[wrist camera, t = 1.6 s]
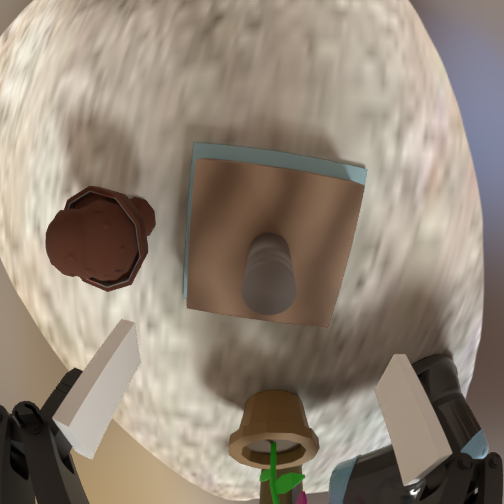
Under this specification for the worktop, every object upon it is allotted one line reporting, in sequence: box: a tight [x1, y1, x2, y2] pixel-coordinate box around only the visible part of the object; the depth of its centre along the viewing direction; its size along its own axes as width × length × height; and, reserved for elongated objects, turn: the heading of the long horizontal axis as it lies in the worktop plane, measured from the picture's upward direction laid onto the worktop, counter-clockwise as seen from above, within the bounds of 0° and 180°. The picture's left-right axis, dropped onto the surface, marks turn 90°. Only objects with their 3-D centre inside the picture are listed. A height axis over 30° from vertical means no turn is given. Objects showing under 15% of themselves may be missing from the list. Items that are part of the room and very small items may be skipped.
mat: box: [184, 142, 367, 299], centre depth 33 cm, size 20×20×1 cm
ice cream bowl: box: [46, 186, 156, 292], centre depth 26 cm, size 11×11×15 cm
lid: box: [187, 158, 365, 328], centre depth 26 cm, size 17×17×13 cm
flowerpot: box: [229, 390, 319, 504], centre depth 30 cm, size 14×14×30 cm
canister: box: [260, 464, 303, 504], centre depth 43 cm, size 11×10×20 cm
